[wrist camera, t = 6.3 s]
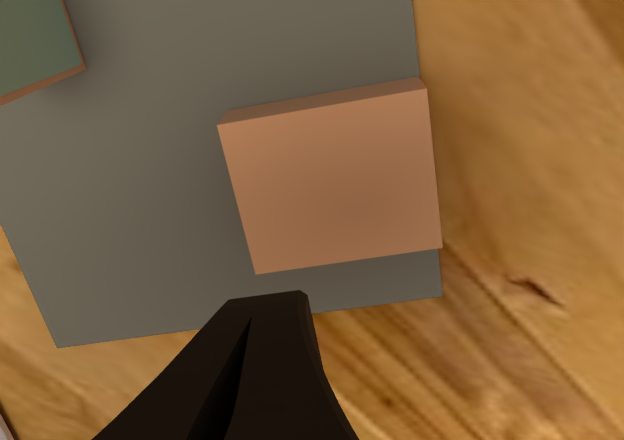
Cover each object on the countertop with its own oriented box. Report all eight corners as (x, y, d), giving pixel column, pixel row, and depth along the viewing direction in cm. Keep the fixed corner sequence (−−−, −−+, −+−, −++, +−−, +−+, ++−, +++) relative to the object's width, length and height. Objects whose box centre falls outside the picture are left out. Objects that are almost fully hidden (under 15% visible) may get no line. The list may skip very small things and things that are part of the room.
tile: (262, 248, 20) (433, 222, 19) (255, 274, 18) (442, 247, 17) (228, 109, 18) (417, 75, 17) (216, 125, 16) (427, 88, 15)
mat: (440, 287, 21) (442, 296, 20) (63, 339, 22) (57, 348, 22) (394, -150, 15) (395, -154, 15) (-105, -39, 17) (-119, -39, 16)
